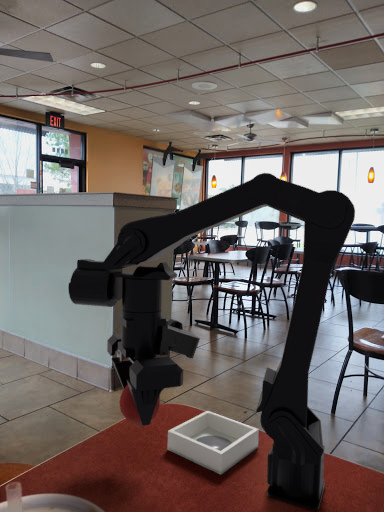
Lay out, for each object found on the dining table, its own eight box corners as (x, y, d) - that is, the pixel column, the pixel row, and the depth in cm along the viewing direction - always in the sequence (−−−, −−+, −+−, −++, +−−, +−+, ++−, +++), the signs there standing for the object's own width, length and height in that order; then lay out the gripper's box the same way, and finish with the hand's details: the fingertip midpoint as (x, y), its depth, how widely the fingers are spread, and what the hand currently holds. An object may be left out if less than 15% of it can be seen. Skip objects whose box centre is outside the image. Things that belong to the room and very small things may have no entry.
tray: (257, 447, 67) (258, 429, 67) (221, 474, 59) (221, 454, 59) (206, 427, 73) (207, 410, 73) (167, 449, 66) (167, 430, 65)
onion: (162, 419, 64) (163, 367, 63) (155, 437, 58) (156, 381, 58) (124, 416, 64) (125, 365, 64) (114, 434, 59) (115, 378, 58)
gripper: (221, 319, 55) (218, 435, 56) (172, 297, 72) (170, 386, 73) (138, 324, 51) (136, 450, 51) (107, 299, 68) (105, 394, 69)
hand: (139, 415), depth 61 cm, fingers closed on onion, 6 cm apart
